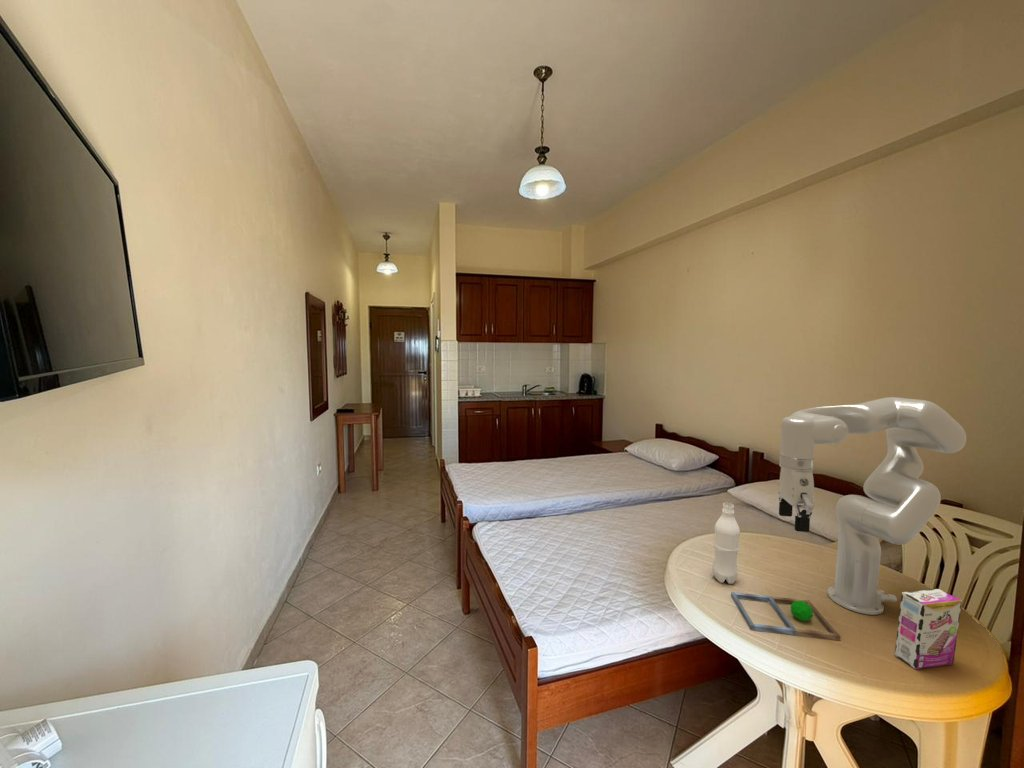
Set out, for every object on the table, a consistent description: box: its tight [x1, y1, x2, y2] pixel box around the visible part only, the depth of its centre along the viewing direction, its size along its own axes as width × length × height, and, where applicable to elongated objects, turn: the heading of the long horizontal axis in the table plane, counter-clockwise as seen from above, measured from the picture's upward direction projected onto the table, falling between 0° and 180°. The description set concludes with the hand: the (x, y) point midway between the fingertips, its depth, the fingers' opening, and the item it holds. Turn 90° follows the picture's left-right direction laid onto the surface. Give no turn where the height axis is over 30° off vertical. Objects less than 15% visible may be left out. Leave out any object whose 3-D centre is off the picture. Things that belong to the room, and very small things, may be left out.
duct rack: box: [730, 591, 842, 642], centre depth 112 cm, size 21×15×1 cm
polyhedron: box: [790, 601, 814, 622], centre depth 111 cm, size 5×5×5 cm
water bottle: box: [712, 502, 741, 585], centre depth 129 cm, size 7×7×25 cm
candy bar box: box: [894, 588, 963, 670], centre depth 96 cm, size 11×5×16 cm, turn 99°
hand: (793, 523), depth 111 cm, fingers open, 9 cm apart
